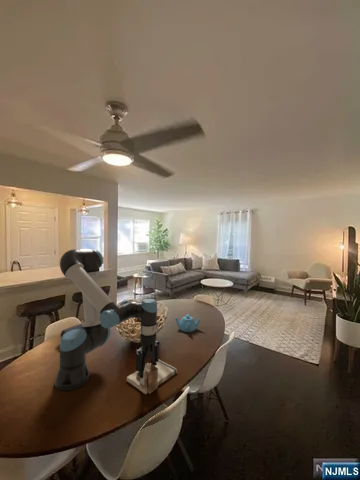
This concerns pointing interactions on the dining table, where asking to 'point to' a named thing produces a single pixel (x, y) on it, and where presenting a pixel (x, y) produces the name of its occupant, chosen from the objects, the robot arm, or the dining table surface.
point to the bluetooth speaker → (71, 329)
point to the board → (163, 374)
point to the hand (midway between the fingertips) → (147, 380)
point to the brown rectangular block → (150, 377)
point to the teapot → (187, 323)
